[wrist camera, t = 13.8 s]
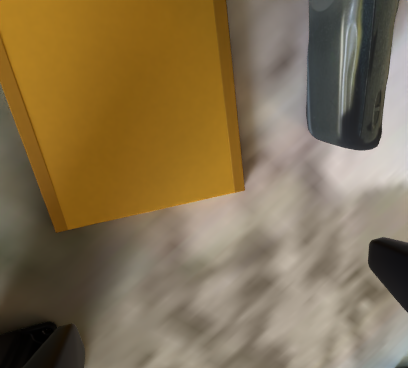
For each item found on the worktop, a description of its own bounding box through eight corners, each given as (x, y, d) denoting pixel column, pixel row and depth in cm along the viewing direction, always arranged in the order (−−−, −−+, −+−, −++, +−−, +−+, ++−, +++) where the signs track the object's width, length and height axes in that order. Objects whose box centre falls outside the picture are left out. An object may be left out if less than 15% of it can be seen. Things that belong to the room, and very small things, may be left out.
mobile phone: (392, 149, 17) (434, -213, 11) (348, 158, 16) (369, -215, 11) (337, 134, 21) (347, -128, 16) (301, 141, 21) (299, -127, 15)
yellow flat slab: (242, 188, 21) (245, 190, 20) (57, 230, 19) (55, 233, 18) (205, -187, 14) (207, -195, 13) (-96, -189, 12) (-105, -200, 11)
